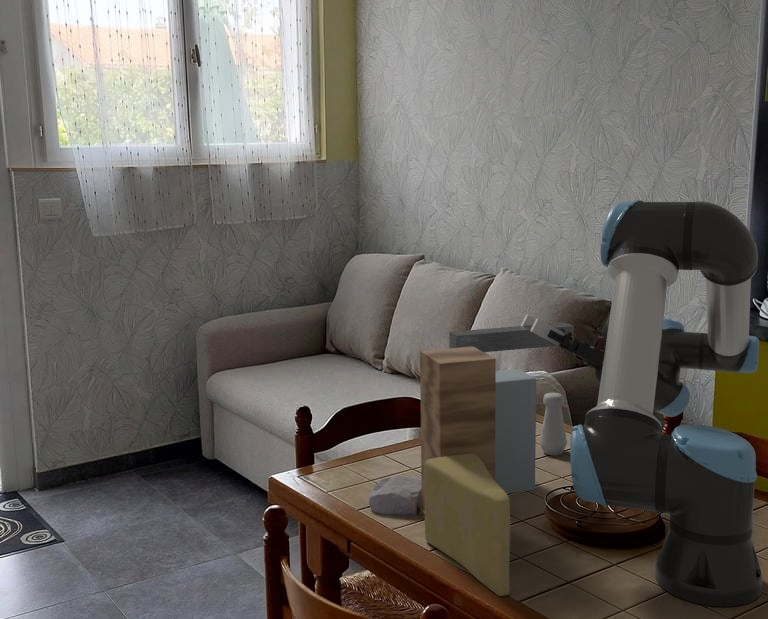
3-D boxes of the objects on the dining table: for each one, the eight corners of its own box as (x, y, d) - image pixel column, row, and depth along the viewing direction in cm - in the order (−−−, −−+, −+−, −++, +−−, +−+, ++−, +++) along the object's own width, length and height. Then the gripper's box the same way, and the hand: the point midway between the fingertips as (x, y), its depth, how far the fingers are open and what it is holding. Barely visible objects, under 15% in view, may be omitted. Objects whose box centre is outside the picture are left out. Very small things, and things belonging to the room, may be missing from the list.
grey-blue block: (535, 489, 174) (536, 378, 170) (467, 499, 170) (466, 385, 166) (517, 475, 182) (518, 368, 178) (451, 484, 178) (451, 375, 174)
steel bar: (573, 344, 174) (574, 326, 173) (456, 354, 167) (456, 335, 166) (564, 340, 177) (565, 322, 176) (449, 350, 170) (449, 331, 170)
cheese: (535, 592, 135) (536, 496, 132) (474, 603, 132) (474, 505, 129) (476, 532, 156) (476, 449, 153) (423, 541, 153) (422, 456, 150)
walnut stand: (498, 527, 157) (499, 359, 152) (439, 536, 154) (437, 364, 149) (474, 503, 168) (474, 345, 162) (418, 511, 165) (416, 350, 159)
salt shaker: (570, 450, 195) (571, 392, 193) (560, 458, 191) (561, 399, 188) (545, 446, 199) (546, 388, 196) (534, 454, 194) (535, 395, 191)
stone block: (367, 522, 165) (420, 516, 163) (362, 497, 165) (415, 490, 162) (382, 500, 177) (432, 493, 174) (377, 476, 176) (427, 469, 174)
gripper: (636, 400, 172) (539, 349, 164) (591, 378, 188) (501, 331, 180) (654, 365, 172) (558, 313, 164) (608, 346, 188) (519, 298, 180)
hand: (529, 322), depth 172 cm, fingers closed on steel bar, 4 cm apart
